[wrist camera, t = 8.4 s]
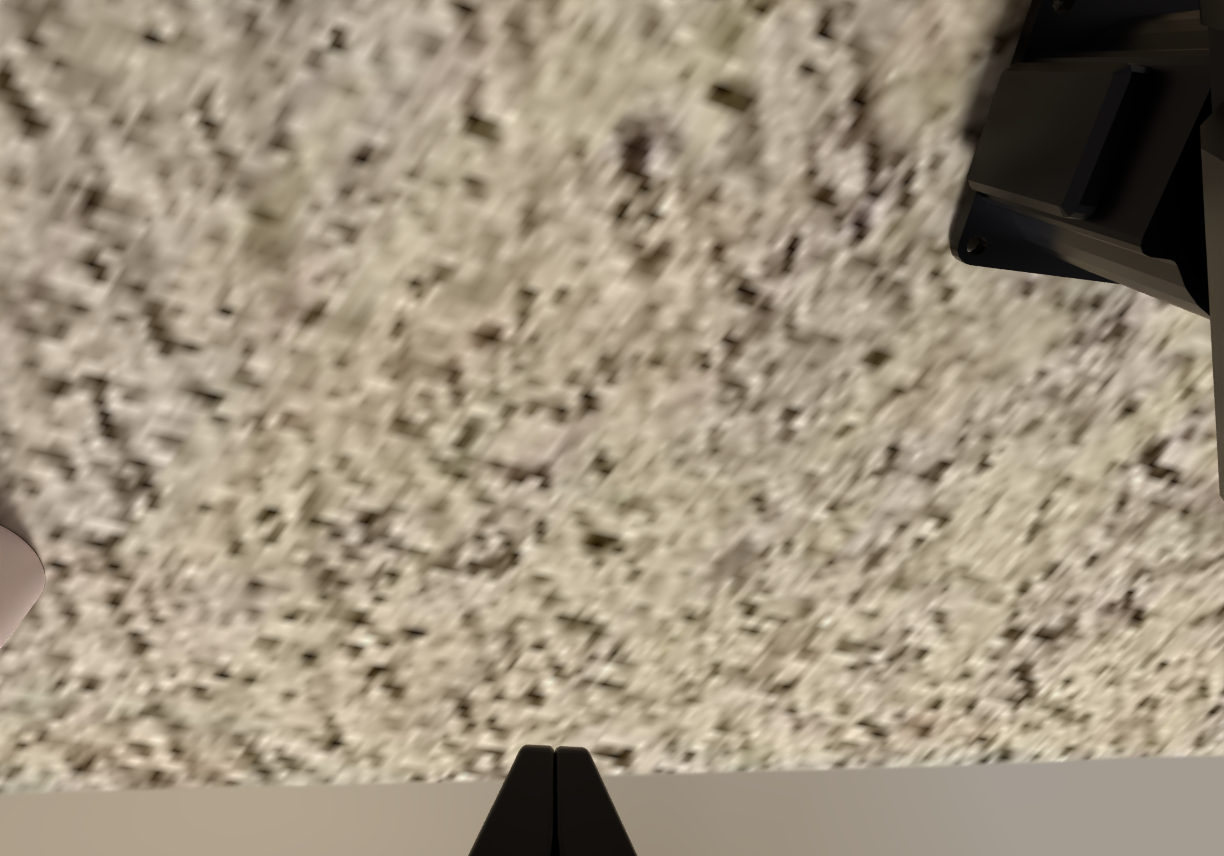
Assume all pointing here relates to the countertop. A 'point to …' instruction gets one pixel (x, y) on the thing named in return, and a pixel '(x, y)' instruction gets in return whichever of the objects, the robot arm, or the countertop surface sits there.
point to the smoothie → (17, 581)
